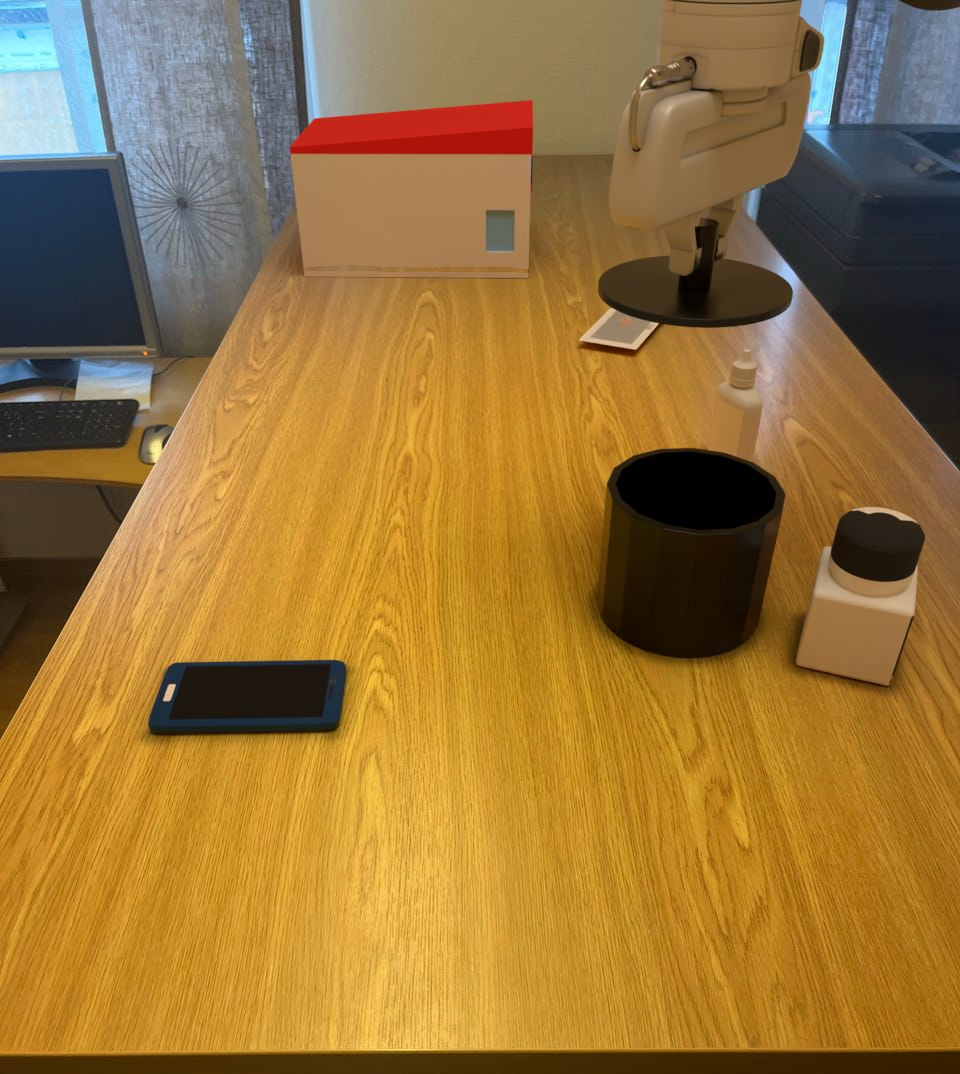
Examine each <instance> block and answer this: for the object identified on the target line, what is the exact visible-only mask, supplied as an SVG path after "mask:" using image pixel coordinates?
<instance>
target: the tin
mask: <svg viewBox="0 0 960 1074" xmlns="http://www.w3.org/2000/svg"><path fill="white" fill-rule="evenodd" d="M605 487H606V488H605V498H604V500H605V501H604V511H603V520H602V521H603V523H602V533H601V534H602V536H601V545H600V557H599V569H598V570H599V571H598V582H597V593H596V594H597V595H596V598H597V599H596V600H597V606H598V607H597V608H598V612H599V614H600V617H601V619H602V620H603V622H604V624H605V625H606V626H607V627H608V629H610V631H612V632H613V633H614V634H615V635H616V636H617V637H619V638H620V639H622V640H623V641H625V642H627V643H629V644H630V645H632V646H634V647H636V648H639V649H641V650H644V651H647V652H649V653H653V654H658V655H662V656H667V657H672V658H685V659H686V658H693V659H694V658H696V659H697V658H706V657H707V658H708V657H712V656H713V657H714V656H719V655H722V654H726V653H729V652H730V651H732V650H735V649H738V648H739V647H740V646H743V645H744V644H745V643H746V642H748V641H749V640H750V638H751V637H752V636H753V635H754V634H755V632H756V631H757V628H758V627H759V624H760V623H759V622H760V618H761V614H762V609H763V604H764V600H765V596H766V591H767V586H768V581H769V576H770V572H771V567H772V563H773V557H774V553H775V548H776V544H777V540H778V534H779V529H780V526H781V520H782V516H783V511H784V506H785V500H786V492H785V490H784V489H783V487H782V485H781V484H780V482H779V481H778V478H776V476H775V475H774V474H772V473H770V472H769V471H767V470H766V469H764V468H763V467H761V466H760V465H758V464H756V463H755V462H754V461H753V462H751V461H748V460H745V459H742V458H739V457H736V456H733V455H730V454H727V453H724V452H718V451H711V450H707V449H702V448H696V447H675V448H674V447H673V448H658V449H654V450H650V451H646V452H642V453H638V454H634V455H632V456H630V457H629V458H627V459H626V460H624V461H622V462H620V463H619V464H618V465H616V466H614V467H613V469H612V471H611V473H610V475H609V477H608V479H607V482H606V486H605Z"/></svg>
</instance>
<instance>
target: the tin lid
mask: <svg viewBox="0 0 960 1074" xmlns="http://www.w3.org/2000/svg"><path fill="white" fill-rule="evenodd" d="M718 228H719V222H718V221H716V220H713V219H709V218H708V217H700V223H699V226H697V227H695V235H696V244H697V246H700V247H702V254H701V258H700V267H699V269H698V270H697V271H695V272H693V273H691V274H688V275H686V276H683V275H679V274H674V273H672V272H671V271H670V270H669V258H670V255H658V256H649V257H643V258H637V259H633V260H629V261H625V262H622V263H619V264H616V265H614V266H612V267H609V268H608V269H607V270H605V271H604V272H603V273H602V274H601V275H600V277H599V279H598V282H597V294H598V296H599V299H601V301H602V302H603V303H605V305H607V306H608V307H610V308H613V309H615V310H617V311H619V312H621V313H623V314H626V315H629V316H631V317H635V318H638V319H641V320H645V321H650V322H654V323H659V324H661V325H666V326H674V327H684V328H698V329H699V328H701V329H702V328H703V329H705V328H706V329H715V328H717V329H718V328H733V327H740V326H741V327H742V326H748V325H754V324H758V323H762V322H766V321H768V320H772V319H773V318H774V319H775V318H776V317H778V316H781V315H782V314H784V312H786V311H787V310H788V309H789V308H790V307H791V304H792V302H793V296H794V290H793V287H792V285H791V284H790V282H789V281H787V279H786V278H784V277H782V276H781V275H779V274H778V273H776V272H775V271H774V272H773V271H772V270H769V269H767V268H765V267H762V266H759V265H755V264H752V263H748V262H744V261H741V260H736V259H730V258H725V257H723V258H721V259H719V260H717V261H715V262H714V257H715V250H716V243H717V235H718Z"/></svg>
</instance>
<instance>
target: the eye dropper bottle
mask: <svg viewBox="0 0 960 1074" xmlns="http://www.w3.org/2000/svg"><path fill="white" fill-rule="evenodd" d="M757 370H758V364H757V363H756V362H755V361H753V360H752V350H751V349H749V348H745V349H743V351H742V354H741V356H740V359H736V360H734V361H733V362H732V364H731V370H730V376H729V380H728V381H724V382H722V383H720V384H719V385H718V386H717V387H716V391H715V396H714V401H713V408H712V414H711V419H710V426H709V433H708V440H707V446H706V450H711V451H718V452H724V453H727V454H730V455H733V456H736V457H739V458H742V459H745V460H748V461H751V462H753V463H754V456H755V451H756V446H757V440H758V435H759V431H760V426H761V425H760V423H761V418H762V413H763V406H764V404H763V399H762V397H761V394H760V393H759V391H758V389H757V388H756V387H755V386H754V385H755V382H756V376H757Z"/></svg>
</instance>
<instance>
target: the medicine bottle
mask: <svg viewBox="0 0 960 1074" xmlns="http://www.w3.org/2000/svg"><path fill="white" fill-rule="evenodd" d="M925 541H926V533H925V531H924V530H923V528H922V526H921V525H920V523H918V522H917V521H916V519H914V518H912V517H911V516H910V515H907V514H905V513H902V512H900V511H897V510H894V509H890V508H885V507H878V506H863V507H858V508H854V509H850V510H849V511H847V512H846V513H845V514H843V515H841V516H840V517H839V519H838V522H837V526H836V529H835V534H834V537H833V541H832V545H831V546H830V545H829V546H828V545H826V546H823V548H822V550H821V553H820V557H819V561H818V565H817V569H816V573H815V576H814V582H813V585H812V589H811V593H810V597H809V601H808V604H807V608H806V613H805V617H804V621H803V626H802V630H801V636H800V639H799V644H798V647H797V653H796V657H795V664H796V665H797V666H798V667H800V668H801V667H802V668H806V669H811V670H815V671H819V672H822V673H829V674H832V675H837V676H841V677H846V678H851V679H855V680H859V681H863V682H868V683H873V684H875V685H876V684H877V685H882V686H890V685H891V684H892V683H893V679H894V677H895V674H896V670H897V668H898V666H899V662H900V659H901V657H902V656H901V655H902V653H903V650H904V648H905V644H906V641H907V639H908V636H909V632H910V629H911V626H912V623H913V620H914V618H915V615H916V602H917V601H916V600H917V589H918V588H917V587H918V574H919V565H918V562H919V560H920V556H921V554H922V550H923V547H924V546H925V545H924V544H925Z"/></svg>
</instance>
